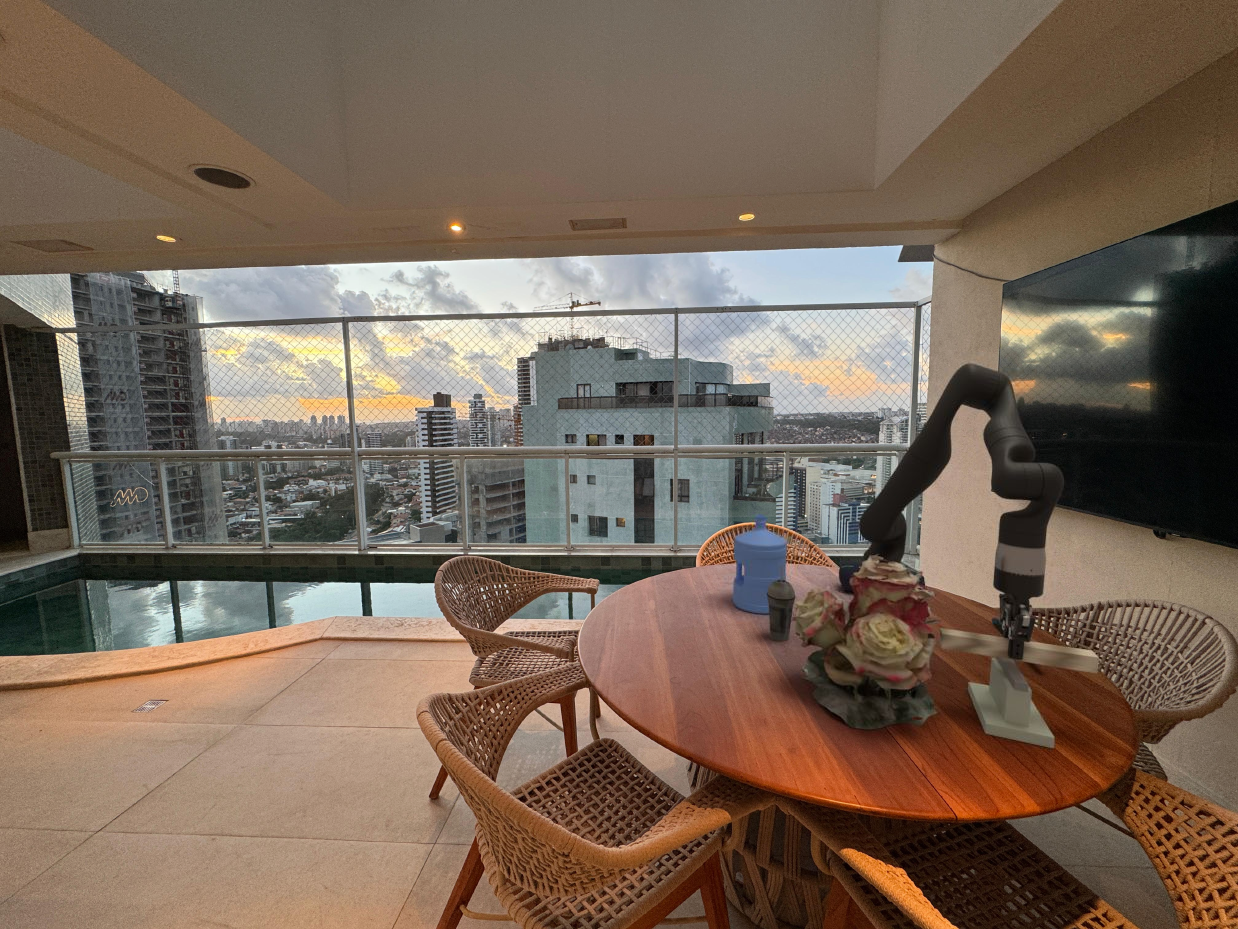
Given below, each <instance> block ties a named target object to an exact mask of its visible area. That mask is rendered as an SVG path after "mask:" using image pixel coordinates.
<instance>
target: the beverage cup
mask: <svg viewBox="0 0 1238 929" xmlns="http://www.w3.org/2000/svg"><path fill="white" fill-rule="evenodd" d="M767 599H768V603H769V614H768V618H769V632H770V633H769V634H770V638H771V639H772V640H774V641H777V642H787V641H788V640H789V638H790V632H791V625H792V624H791V623H792V618H793V616H792V615H793V611H794V610H793V609H794V605H795V602H796V601H795V600H796V591H795V589H794V587H793V585H792V584H791V583H790V582H788V580H786V581H785V580H783V565H781V577H780V580H776V581H773V582H772V583H771V584H770V586H769V587H768V590H767Z"/></svg>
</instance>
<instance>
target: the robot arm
mask: <svg viewBox="0 0 1238 929" xmlns="http://www.w3.org/2000/svg"><path fill="white" fill-rule="evenodd" d="M1016 400H1017V399H1016V395H1015V392H1014V387H1013V383H1012V381H1011V380H1010V378H1009V376H1007V374H1005V373H1003V372H1000V371H999V370H994V369H991V368H988V367H985V366H982V365H978V364H976V363H969V362H968V363H965V364H963V365H962V366H960V367H959V368H958V369H957V370H956V371H955V372H954V373H953V375H952V376H951V378H950V380H949V381H948V382H947V385H946V386H945V388H944V390H943V392H942V393H941V396H940V397H939V399H938V401H937V403H936V405H935V407H934V409H933V410H932V412H931V414H930V416H928V417H929V418H928V419H927V421H926V422H925V424H924V426H923V427H922V428H921V430H920V431H919V433H918V434H917V436H916V438H914V440H913V442H912V443H911V444H910V446H909V447H908V449H907V450H906V451H905V453H904V455H903V456H902V458H901V460H900V461H899V463H898V465H897V467H896V468H895V469H894V470H893V472H892V474H891V476H890V477H889V478H888V480H887V481H886V483H885V484H884V486H883V488H882V490H881V491H880V492H879V493H878V494H877V496H876V497H875V498H874V499H873V501H871V503H870V504H869V505H868V507H866V508H865V510H864V512H863V513H862V514H861V516H860V518H859V520H858V530H859V533H860V535H861V537H862V538H863V539H864V540H866V541H867V542H871V544H870V546H869V547H868V549H867V550H866V551H864V552H863V555H862V562H863V561H866V560H868V558H869V557H870V556H875V555H876V554H878V555H877V556H878V557H881V558H883V560H887V561H892V562H893V561H894V562H897V563H900V564H902V563H901V562H902V560H903V558H904V556H905V551H906V544H907V543H906V541H907V530H908V525H907V519H906V517H905V515H904V514H903V511H904V510H905V509H906V508H907V506H908V505H910V503H912V501H914V500H915V499H917V498H918V497H919V496H920V495H922V494H923V493H924V492H925V491H926V490H928V489H929V488H930V487H931V486H932V485H934V483H935V482H936V481H937V480H938V478H939V477H940V475H941V474H942V472H944V470H945V469H946V467H947V466H948V464H949V463H950V460H951V459H952V452H953V451H952V446H953V445H952V432H951V431H952V423H953V420H954V418H955V416H956V414H957V412H958V410H959V409H960V408H961V407H962V406H965V407H969V408H972V409H975V410H979V411H984V412H985V414H987V415H988V418H990V419H989V420H988V422H987V423H986V425H985V427H984V428H983V432H982V433H983V434H982V437H983V442H984V445H985V447H986V450H987V451H988V455H989V457H990V460H991V479H990V486H991V490H992V491H993V492H994V494H996V496H998V497H999V498H1001V499H1003V500H1014V501H1030V502H1029V503H1028V504H1027V506H1026V507H1024V508H1022V509H1017V510H1012V511H1005V512H1004V513H1002V514H1001V515H1000V518H999V521H998V522H999V524H998V539H997V545H996V550H995V554H994V555H995V557H994V567H993V571H994V572H993V581H992V582H993V583H992V586H993V588H994V589H995V590H996V591H997V592H1001V593H999V595H998V600H999V620H1000V622H1001V624H1003V625H1002V628H1003V630H1005V631H1004V635H1003V634H1002V635H1003V636H1002V637H1004V638H1009V643H1008V656H1009V658H1011V659H1016V660H1015V661H1017V660H1022V659H1023V652H1024V642H1030V641H1031V638H1032V635H1033V631H1034V626H1035V624H1036V618H1035V617H1036V616H1032V614H1033V605H1032V604H1030V603H1031V602H1030V599H1032V598H1040V597H1041V596H1043V595H1044V590H1045V588H1044V587H1045V575H1046V564H1047V556H1046V543H1047V532H1048V525H1049V522H1050V520H1051V517H1052V514H1053V512H1054V510H1055V507H1056V506H1057V503H1058V502H1059V499H1060V498H1061V495H1062V492H1063V489H1064V487H1065V479H1064V478H1065V477H1064V475H1063V472H1062V471H1061V469H1060V468H1059V467H1058V466H1056V465H1055V464H1053V463H1049V462H1033V461H1034V460H1035V459H1036V458H1035V457H1036V449H1035V447H1034V445H1033V444H1032V441H1031V439H1030V437H1029V435H1028V434H1027V432H1026V430H1025V428H1024V426H1023V423H1022V422H1021V421H1022V420H1021V418H1020V415H1019V410H1018V405H1017V401H1016ZM1021 634H1022V635H1021Z"/></svg>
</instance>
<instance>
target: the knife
mask: <svg viewBox="0 0 1238 929" xmlns="http://www.w3.org/2000/svg"><path fill="white" fill-rule="evenodd" d="M991 622H992V624H993V626H994V627H995V628H996V629H997V630H998V631H999V632H1000V633H1001V634H1002V635H1004V631H1005V630H1003V628H1002V625H1003V624H1001V622H1000V618H997V617H992V618H991ZM1020 634H1021V635H1022V633H1020Z"/></svg>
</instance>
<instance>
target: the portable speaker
mask: <svg viewBox="0 0 1238 929" xmlns="http://www.w3.org/2000/svg"><path fill="white" fill-rule="evenodd" d="M861 566H862V562H860V561H854V560H848V561H843V562H841V564H840V566H839V569H838V580H839V582H840V585H841V587H842V588H843V589H844V590H845V591H848V592H852V593H854V592H853V590H852V588H851V586H850V579H851V578H852V577H851V575H853V573H858V572H859V571H860V568H861ZM910 572H911V573H912V574H913V575H914V576H915V575H916V574H918V573H919V572H916V571H914V570H911V571H910ZM919 585H923V586H925V587H926V581H925V576H924V575H922V576H921V577H920V578H919Z"/></svg>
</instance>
